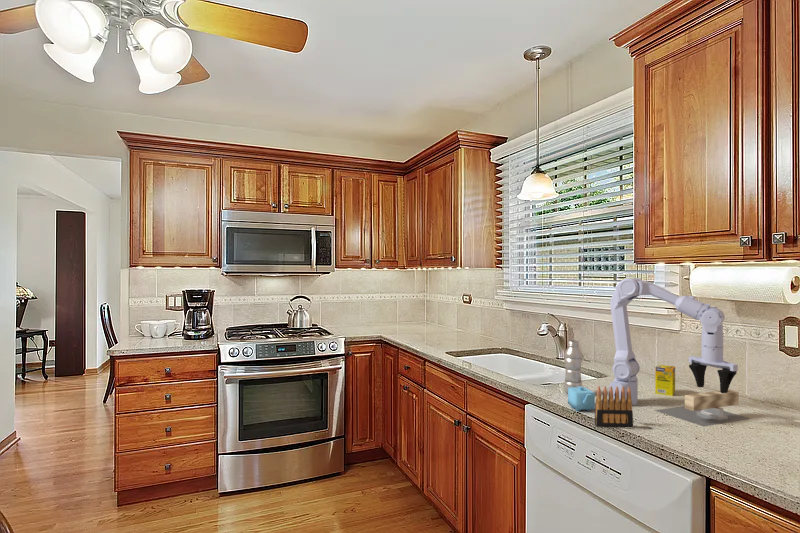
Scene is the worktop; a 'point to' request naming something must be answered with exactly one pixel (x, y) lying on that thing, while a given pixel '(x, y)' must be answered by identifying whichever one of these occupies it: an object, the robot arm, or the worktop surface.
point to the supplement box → (665, 380)
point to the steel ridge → (713, 414)
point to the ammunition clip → (613, 409)
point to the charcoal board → (694, 418)
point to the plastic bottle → (572, 365)
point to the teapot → (581, 398)
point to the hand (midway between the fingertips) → (711, 389)
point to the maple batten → (711, 400)
